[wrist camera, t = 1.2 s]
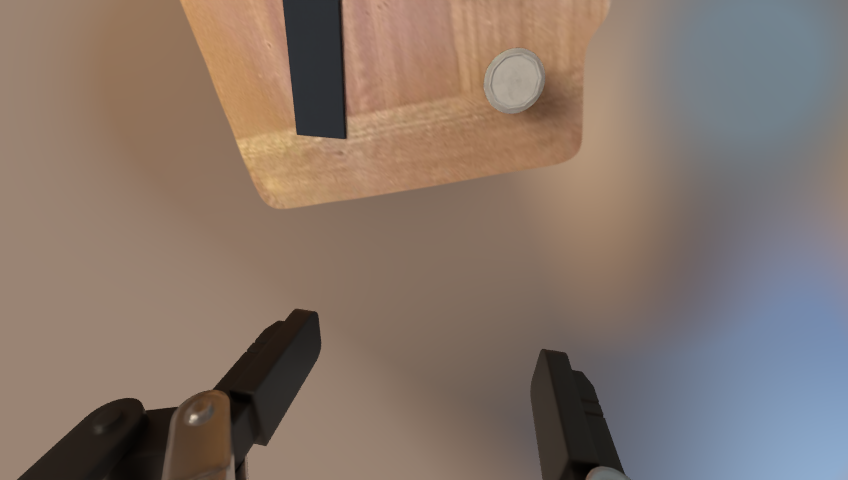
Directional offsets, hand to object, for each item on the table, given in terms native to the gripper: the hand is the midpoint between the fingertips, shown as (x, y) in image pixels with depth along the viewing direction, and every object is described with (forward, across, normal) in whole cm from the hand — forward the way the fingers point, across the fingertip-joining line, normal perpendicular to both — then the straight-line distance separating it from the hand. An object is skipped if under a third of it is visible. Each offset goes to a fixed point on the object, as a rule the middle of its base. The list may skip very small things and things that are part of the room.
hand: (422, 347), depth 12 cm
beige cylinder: (+33, -3, -8) cm, 34 cm away
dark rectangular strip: (+33, +19, -8) cm, 38 cm away
